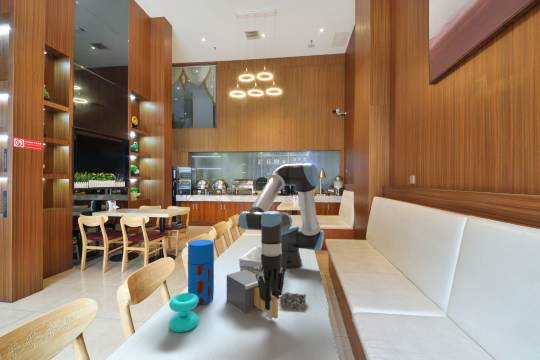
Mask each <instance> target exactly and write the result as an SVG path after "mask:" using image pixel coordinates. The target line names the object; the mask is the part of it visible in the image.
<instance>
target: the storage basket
mask: <svg viewBox="0 0 540 360" xmlns="http://www.w3.org/2000/svg"><path fill="white" fill-rule="evenodd" d="M261 254H262V252H261V246H256V245H255V246H254V247H253V248H251V249H250V250H248V251H247V252H246V253H245V254H243V255H242V256H241V257H239V260H238V265H239V270H240V271H242V270H248V271H250V272H252V273H254V274H256V275H257V274H258V275H259V274H260V273H261V269H262V264H261ZM280 254H281V256H282V249H281V253H280ZM280 265H281V264H280ZM263 277H264V276H263Z"/></svg>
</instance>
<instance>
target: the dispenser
mask: <svg viewBox="0 0 540 360" xmlns="http://www.w3.org/2000/svg"><path fill="white" fill-rule="evenodd" d="M264 282H265V281H264ZM255 286H256V287H258V288H259V286H258V280H257V279H256V274H254V273H252V272H250V271H248V270H242V271H235V272H233V273H232V272H231V273H228V274H226V301H227V302H228V303H229V304H231V305H232V306H233V307H235V308H236V309H237V310H238V311H240V312H241V313H243V314H244V315H246V314H249V313H252V312H253V311H256V310H258V309H259V308H258V307H256V306H255V305H253V287H255ZM259 310H260V309H259Z"/></svg>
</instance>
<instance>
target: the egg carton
mask: <svg viewBox="0 0 540 360" xmlns="http://www.w3.org/2000/svg"><path fill="white" fill-rule="evenodd" d="M279 297H280V298H279V300H280V301H279V304H280V305H279V306H281V307H283V308H285V307H289V308H290V309H294V308H297V309H298V310H302V309H305V305H306V301H307V300H306V299H307V294H306V293H305V294H300V293H299V294H298V293H291V292H290V291H286V292H282V295H280V296H279Z"/></svg>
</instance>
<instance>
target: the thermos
mask: <svg viewBox="0 0 540 360" xmlns="http://www.w3.org/2000/svg"><path fill="white" fill-rule="evenodd" d="M214 243H215V242H214V241H213V240H212V239H195V240H191V241H189V242H188V243H187V293H193V294H195V295H197V296H198V299H199V302H198V304H197V306H198V307H200V306H206V305H208V304H210V303H211V302H213V300H214V295H215V294H214V293H215V260H214V259H215V254H214V253H215V244H214ZM197 306H196V307H197Z"/></svg>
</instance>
